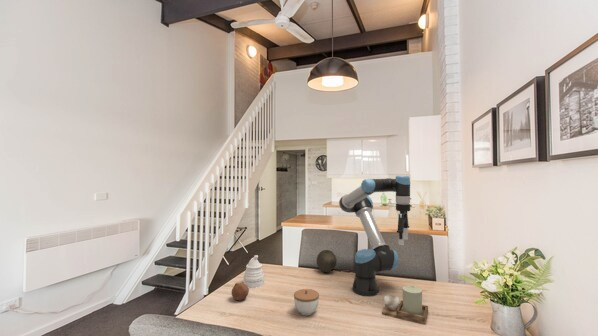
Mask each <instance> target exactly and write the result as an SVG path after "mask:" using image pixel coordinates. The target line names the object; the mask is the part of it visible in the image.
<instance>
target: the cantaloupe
mask: <svg viewBox="0 0 598 336" xmlns="http://www.w3.org/2000/svg"><path fill="white" fill-rule="evenodd" d="M337 261H338V260H337V256H336V254H335V253H334V252H333V251H332V250H330V249H329V250H328V249H324V250H321V251H319V253H318V254H317V257H316V266H317V268H318V270H319V271H321V272H323V273H328V272H331V271H332V270H334V268H335V267H336V265H337Z"/></svg>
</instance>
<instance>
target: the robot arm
mask: <svg viewBox="0 0 598 336" xmlns="http://www.w3.org/2000/svg"><path fill="white" fill-rule="evenodd" d="M386 192H387V193H388V192H392V193H395V203H396V204H395V210H396V211H397V212H399V213H398V220H397V230H396V234H397V235H398V236H397V238H398V240H397V245H399V246H405V241H409V228H410V225H409V217H408V212H410V211H411V200H412V197H411V177H410V175H396V176H395V178H390V177H389V178H366V179H365V178H364V179H363V180H362V182H361V183H360V186H359V187H357V188H356V189H354V190H352V191H351V192H349V193H347V194H344V195H343V196H341V198H340V199H339V202H338V206H339V207H340V209H341V210H342V211H343V212H345V213H348V214H349V213H351V214H352V213H355V216H356V217H357V218H359V220H360V222H361V224H362V227H363V229H364V232H365V234H366V236H367V240H368V242H369V244H370V246H371V248H364V249H360V250H358V251H357V252H356V253H355V255H354V256H355V257H354V264H355V270H354V271H355V275H354V276H355V278H354V280H353V283H352V292H354V294H356V295H359V296H363V297H364V296H365V297H373V296H376V295H378V294H379V290H380V289H379V284H378V281H377V277H376V273H380V272H386V271H389V272H390V271H392V270H395V269H397V268H398V266H399V261H400V260H399V255H398V253H397V252H398V251H396V250H394V249H393V248H392V249H391V247H390V245H389V244H388V243H386V242H385V240H384V237H383V236H382V233H381V232H380V229H379V227H378V224H377V223H376V220H375V218H374V216H373V214H372V213H373V210H374V209H373V208H374V204H373V203H374V202H373V199H372V198H371V197H370V196H371V195H372V194H374V193H386Z"/></svg>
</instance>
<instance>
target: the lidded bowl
mask: <svg viewBox="0 0 598 336" xmlns="http://www.w3.org/2000/svg"><path fill="white" fill-rule="evenodd" d="M319 296H320V295H319V292H318V291H317V290H315V289H311V288H302V289H298V290H296V291H295V292H294V293H293V297H294V298H293V299H294V300H293V301H294V306H295V309H296V310H297V311H298V313H299V314H300V315H301V316H311V315H313V314H314V313H315V311H316V310H317V309H318V306H319Z"/></svg>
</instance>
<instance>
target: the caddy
mask: <svg viewBox="0 0 598 336" xmlns="http://www.w3.org/2000/svg"><path fill="white" fill-rule="evenodd" d="M383 299H384V300H383V301H384V303H383V304H384V307H383V308H382V310H381V315H383V316H388V317H392V318H396V319H400V320H405V321H408V322H413V323H418V324H422V325H426V324H427V320H428V315H429V305H424V304H422V313H423V314H422V316H420V315H416V314H411V313H407V312H403V299H401V300H400V299H399V297H398V296H396V295H391V294H387V295H385V296H384V298H383ZM399 300H400V302H399Z"/></svg>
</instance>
